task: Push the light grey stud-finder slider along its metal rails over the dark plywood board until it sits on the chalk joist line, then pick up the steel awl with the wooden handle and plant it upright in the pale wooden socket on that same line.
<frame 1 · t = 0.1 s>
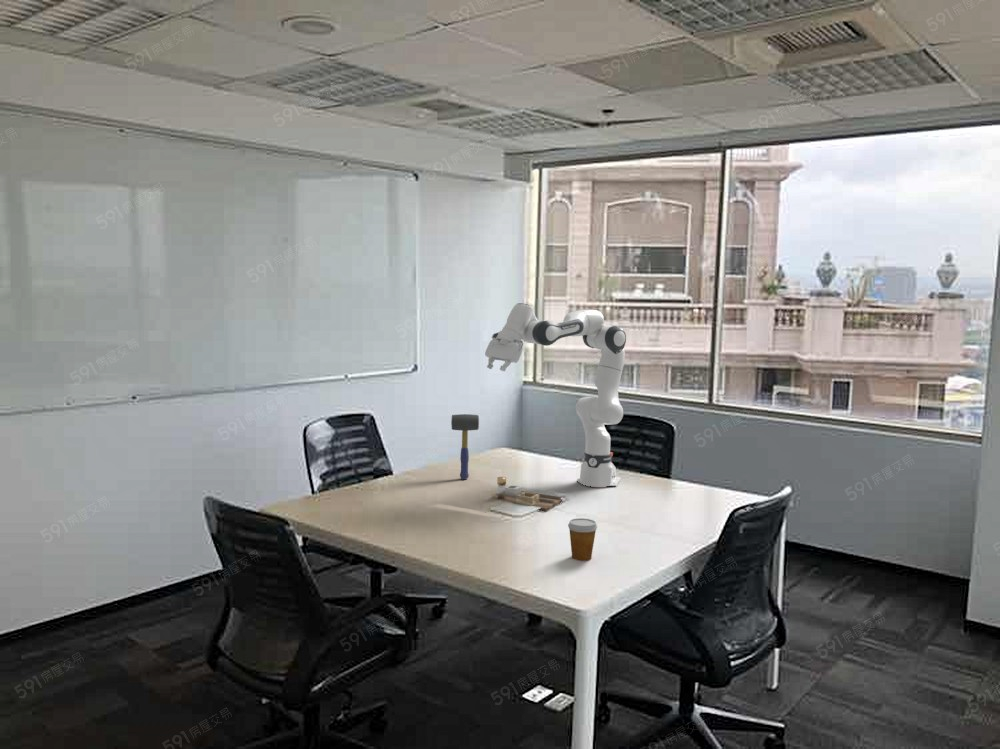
hand: (495, 369, 324), 54 cm above the table, tool tilted 30°, fingers open, 8 cm apart
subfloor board: (525, 502, 328), on the table
disposable coffee cup: (581, 558, 262), on the table
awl: (501, 498, 328), point 1 cm above the table, touching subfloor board
rubber mallet: (464, 479, 365), on the table
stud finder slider: (510, 489, 335), point 3 cm above the table, slide at 0.0 cm
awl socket: (527, 505, 323), resting on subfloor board
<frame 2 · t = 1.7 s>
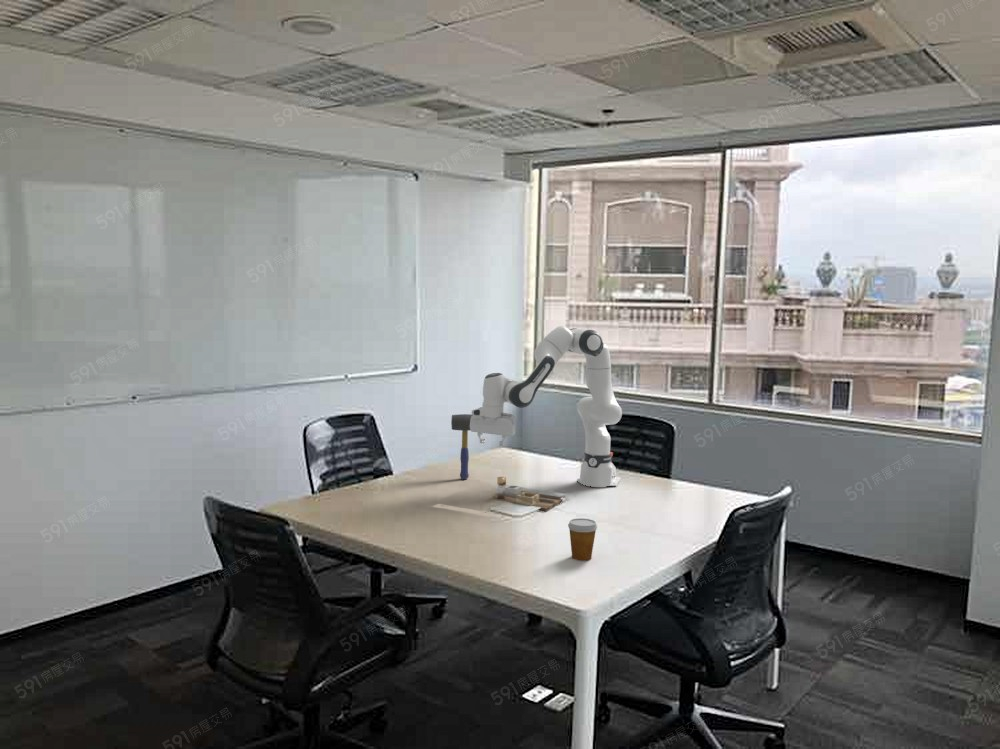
hand: (492, 444, 337), 22 cm above the table, tool pointing down, fingers open, 8 cm apart
nothing on the table moved.
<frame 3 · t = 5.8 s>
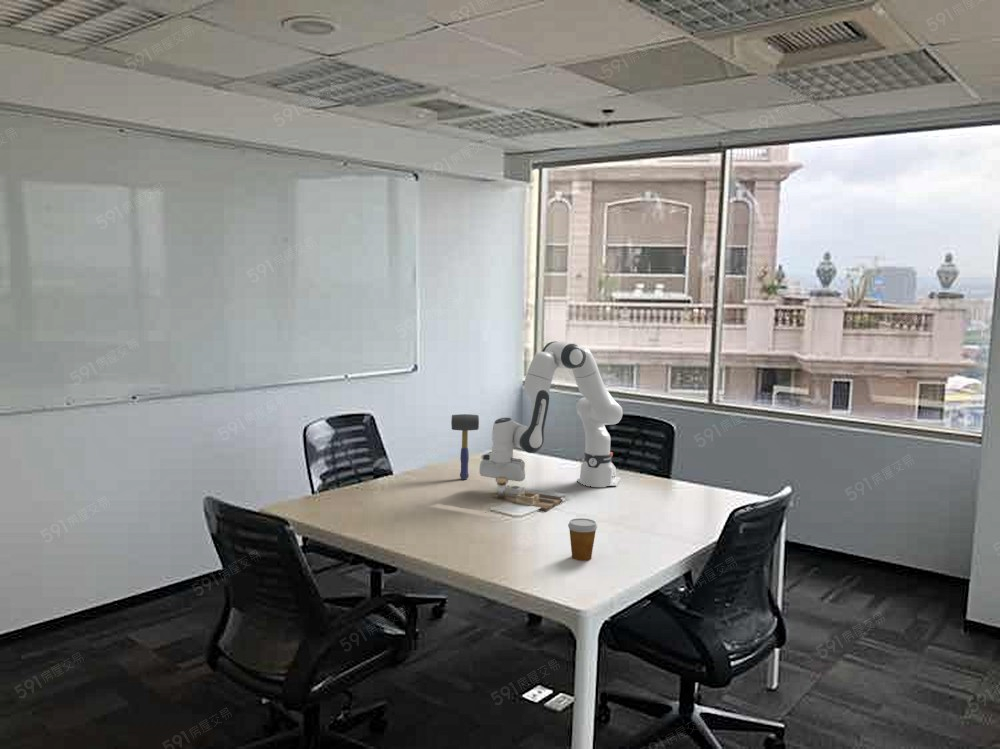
hand: (501, 488, 337), 3 cm above the table, tool pointing down, fingers closed
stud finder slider: (513, 489, 334), point 3 cm above the table, slide at 1.4 cm, touching gripper
everything else where it was.
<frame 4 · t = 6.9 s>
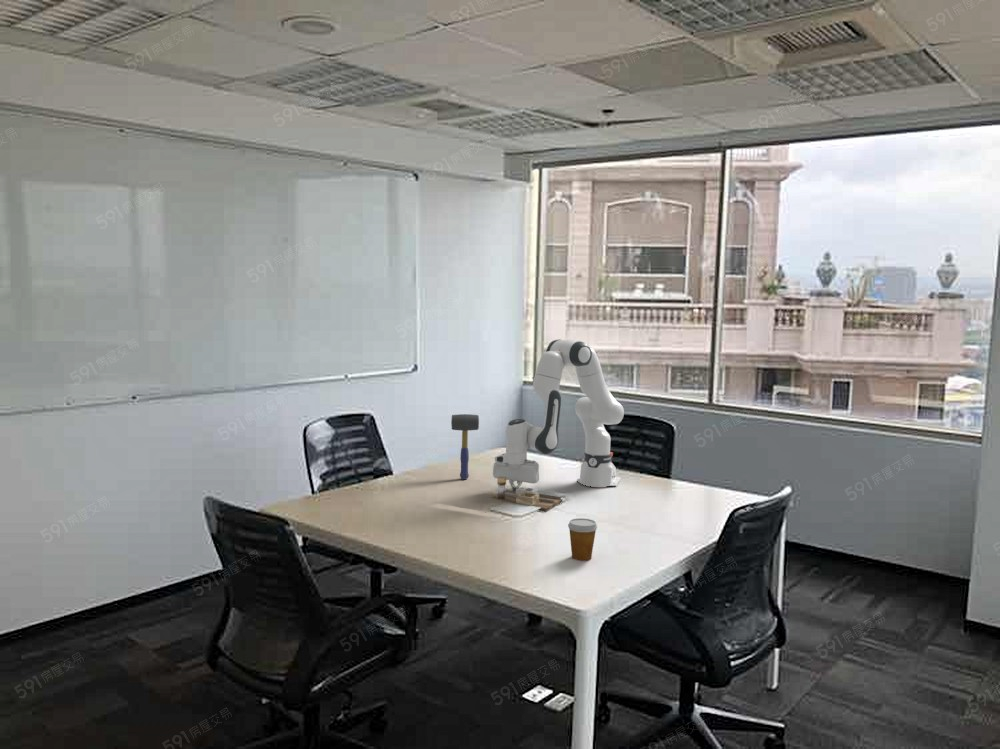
hand: (515, 490, 334), 3 cm above the table, tool pointing down, fingers closed
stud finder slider: (527, 491, 331), point 3 cm above the table, slide at 7.8 cm, touching gripper
everything else where it was.
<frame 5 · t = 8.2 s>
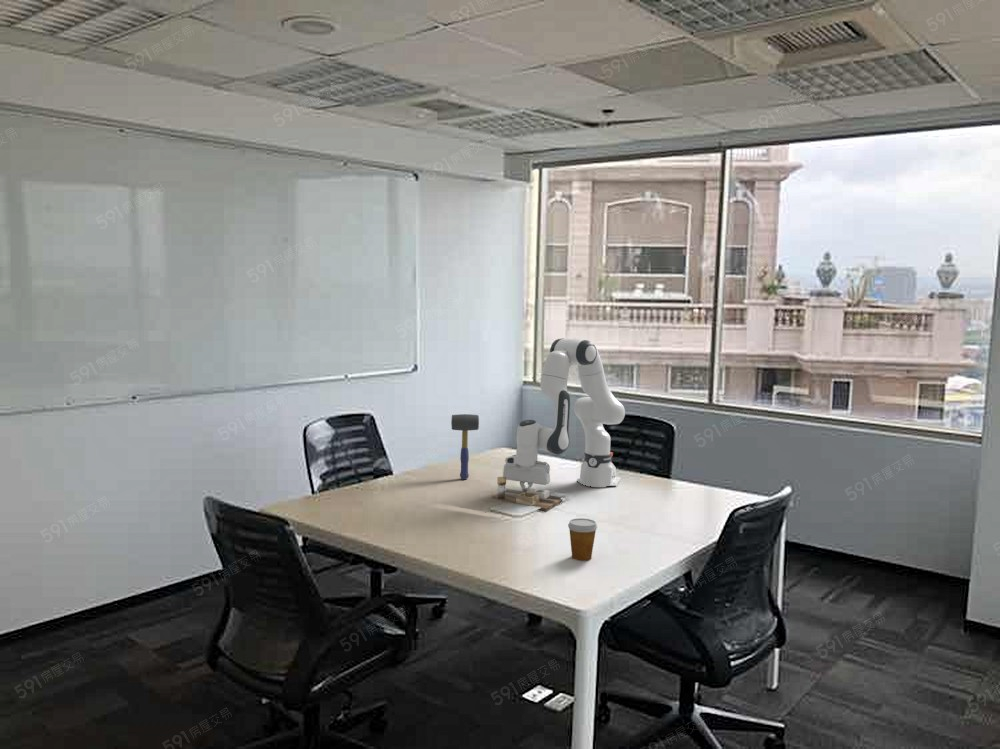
hand: (526, 492, 332), 3 cm above the table, tool pointing down, fingers closed
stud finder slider: (538, 493, 329), point 4 cm above the table, slide at 12.8 cm, touching gripper
everything else where it was.
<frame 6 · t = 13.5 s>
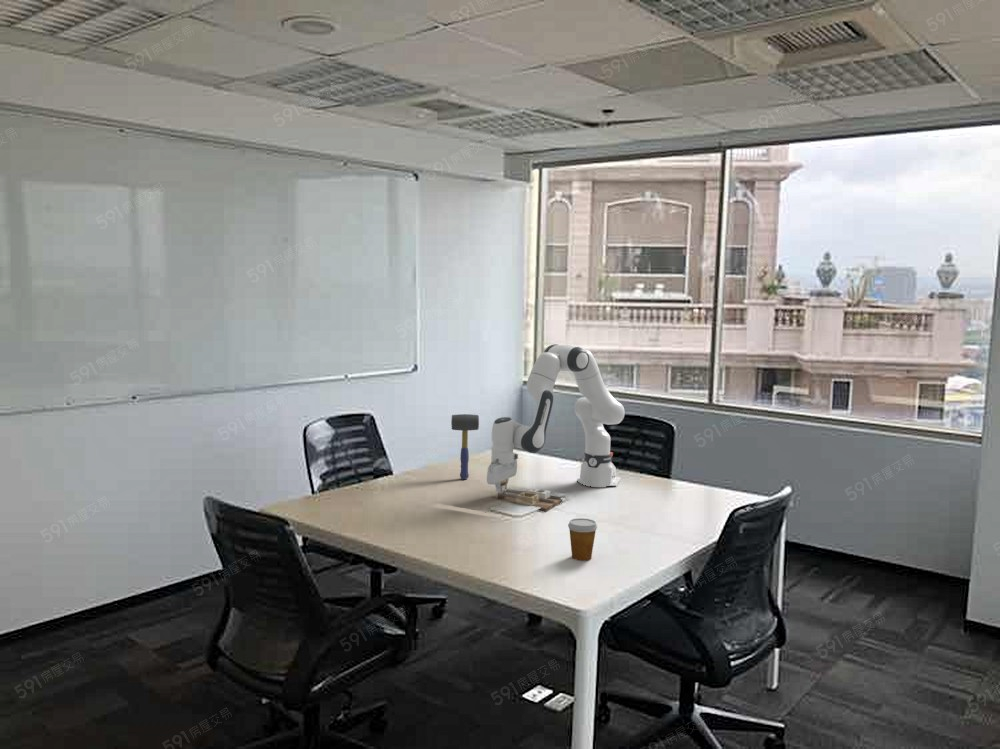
hand: (501, 490, 328), 5 cm above the table, tool pointing down, fingers closed on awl, 3 cm apart
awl: (501, 498, 328), point 1 cm above the table, touching gripper, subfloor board
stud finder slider: (538, 493, 329), point 4 cm above the table, slide at 13.1 cm
everything else where it was.
when the fingers open (6 cm above the table, at t = 18.5 s): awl stays where it is, resting on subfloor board.
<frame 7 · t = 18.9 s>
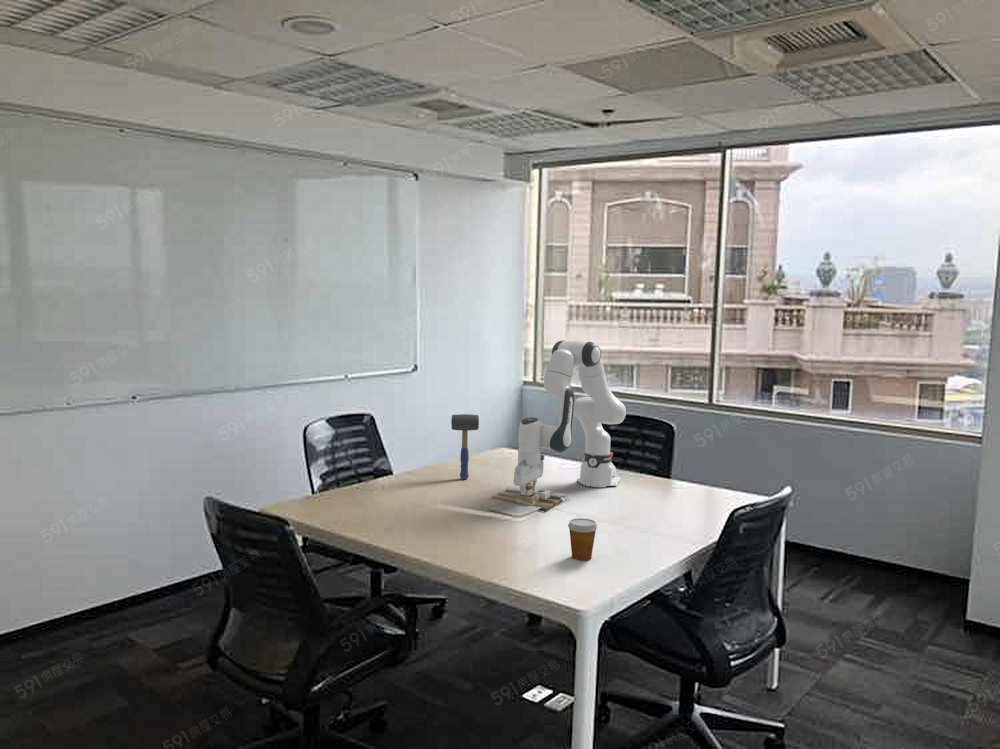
hand: (528, 492, 322), 6 cm above the table, tool pointing down, fingers open, 7 cm apart
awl: (527, 502, 323), point 2 cm above the table, touching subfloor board
everything else where it was.
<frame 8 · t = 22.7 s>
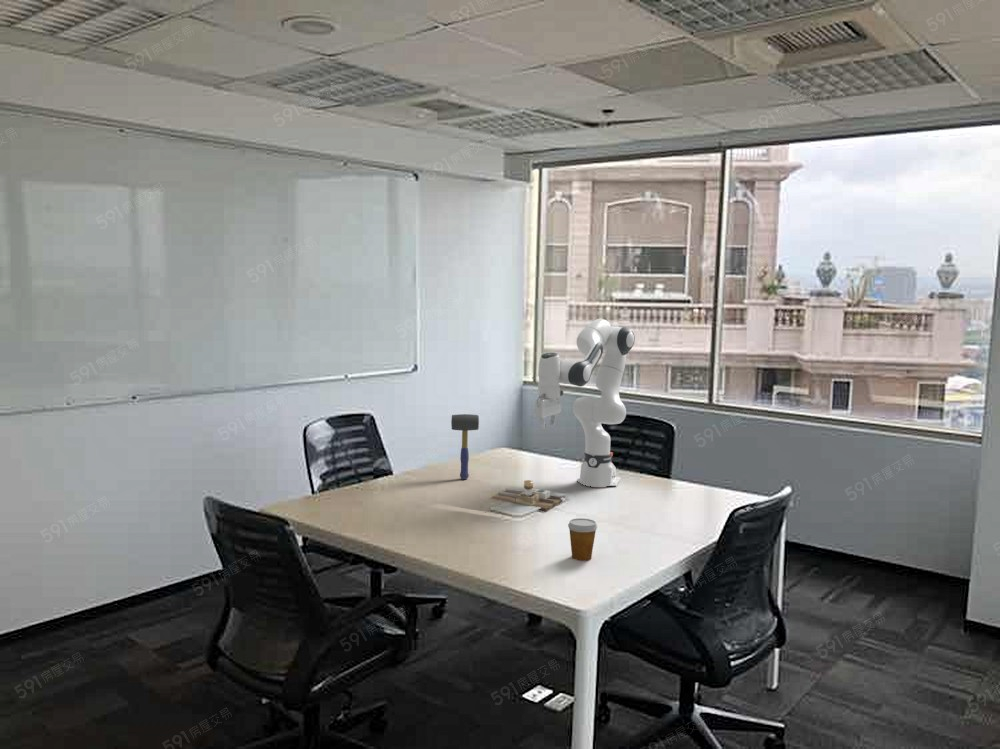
hand: (547, 426, 328), 31 cm above the table, tool pointing down, fingers open, 8 cm apart
nothing on the table moved.
at the end: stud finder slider slide at 13.1 cm; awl 0.1 cm off-centre on the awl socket, point 1.5 cm above the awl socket's base; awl tilted 1° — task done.
